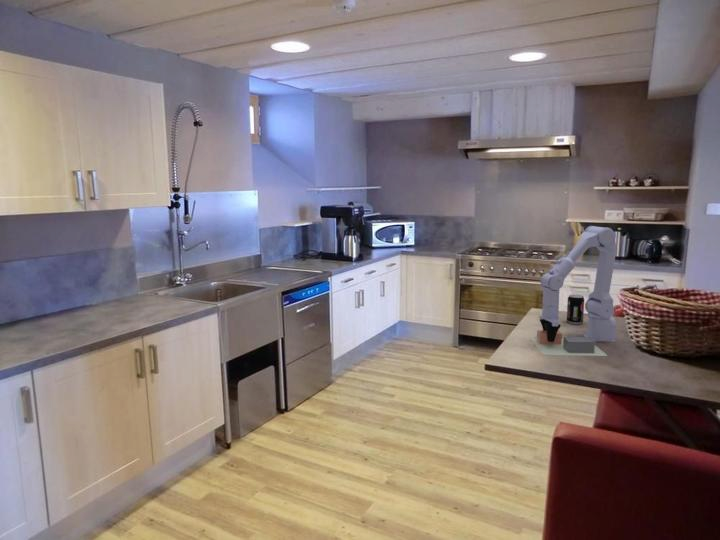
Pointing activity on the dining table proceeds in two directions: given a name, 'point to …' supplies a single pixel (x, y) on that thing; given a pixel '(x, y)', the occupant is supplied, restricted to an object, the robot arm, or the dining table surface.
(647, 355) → the dining table surface
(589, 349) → the grey base brick
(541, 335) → the terracotta brick
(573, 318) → the beverage can
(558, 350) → the baseplate
